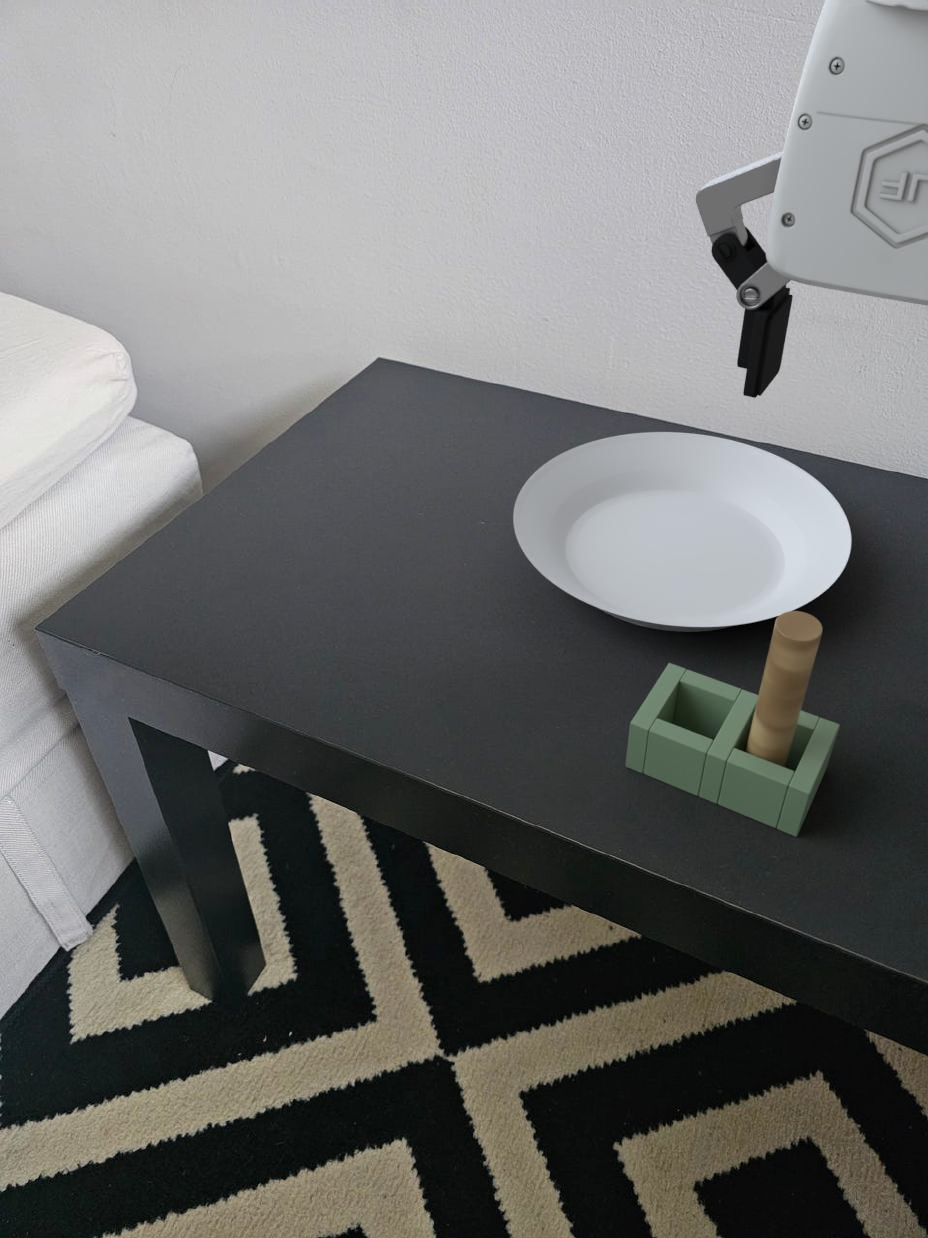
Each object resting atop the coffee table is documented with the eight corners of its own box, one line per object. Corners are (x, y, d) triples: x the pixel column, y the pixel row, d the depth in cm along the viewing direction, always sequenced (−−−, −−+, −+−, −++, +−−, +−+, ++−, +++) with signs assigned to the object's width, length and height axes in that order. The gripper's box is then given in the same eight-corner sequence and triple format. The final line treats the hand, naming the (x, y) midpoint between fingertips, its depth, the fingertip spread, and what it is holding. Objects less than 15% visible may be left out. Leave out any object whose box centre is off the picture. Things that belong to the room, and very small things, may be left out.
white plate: (882, 523, 81) (893, 485, 78) (769, 716, 65) (779, 676, 63) (604, 440, 92) (607, 405, 89) (451, 589, 76) (449, 551, 74)
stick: (784, 779, 61) (828, 619, 53) (772, 806, 60) (815, 646, 51) (745, 764, 62) (783, 605, 54) (733, 791, 61) (769, 631, 52)
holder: (826, 768, 62) (840, 724, 59) (796, 837, 58) (810, 793, 56) (662, 706, 66) (669, 662, 64) (625, 766, 63) (629, 722, 60)
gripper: (689, -50, 34) (650, 402, 45) (1300, -31, 27) (1075, 501, 38) (762, -79, 39) (710, 336, 50) (1297, -69, 32) (1098, 414, 43)
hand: (868, 407), depth 44 cm, fingers open, 9 cm apart
